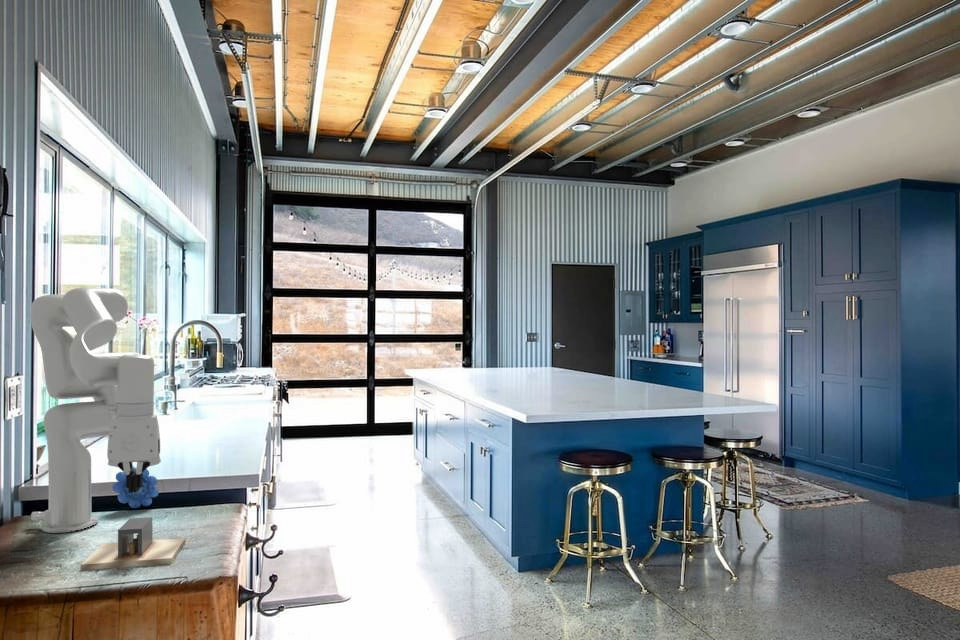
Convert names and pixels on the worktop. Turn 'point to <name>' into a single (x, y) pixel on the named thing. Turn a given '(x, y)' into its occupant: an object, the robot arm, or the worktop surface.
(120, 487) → the blue flower
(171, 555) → the pin board
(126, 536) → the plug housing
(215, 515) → the worktop surface
